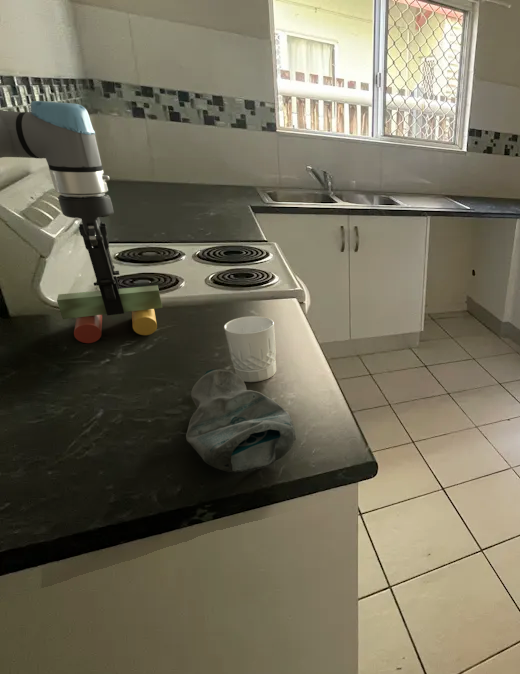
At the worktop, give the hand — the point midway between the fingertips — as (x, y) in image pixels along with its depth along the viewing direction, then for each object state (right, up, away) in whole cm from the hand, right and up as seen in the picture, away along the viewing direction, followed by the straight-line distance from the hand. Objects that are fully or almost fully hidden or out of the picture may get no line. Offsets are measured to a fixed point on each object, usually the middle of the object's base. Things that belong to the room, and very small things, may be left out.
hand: (115, 310), depth 98 cm
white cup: (+34, -13, -10) cm, 38 cm away
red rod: (-4, -4, -1) cm, 6 cm away
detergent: (+40, -20, -25) cm, 51 cm away
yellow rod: (+3, -3, +4) cm, 6 cm away
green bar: (0, 0, 0) cm, 0 cm away
